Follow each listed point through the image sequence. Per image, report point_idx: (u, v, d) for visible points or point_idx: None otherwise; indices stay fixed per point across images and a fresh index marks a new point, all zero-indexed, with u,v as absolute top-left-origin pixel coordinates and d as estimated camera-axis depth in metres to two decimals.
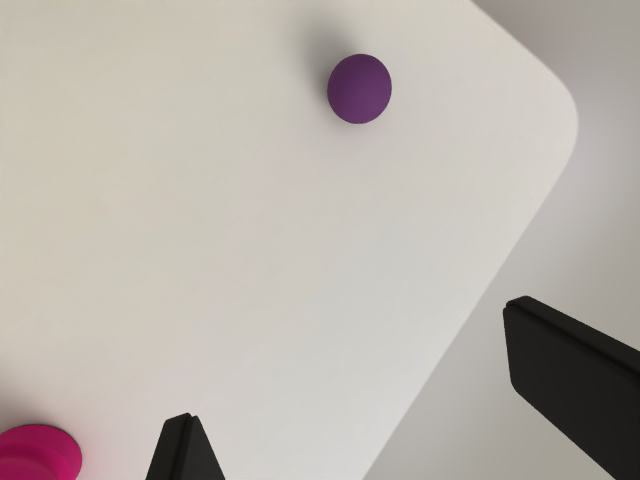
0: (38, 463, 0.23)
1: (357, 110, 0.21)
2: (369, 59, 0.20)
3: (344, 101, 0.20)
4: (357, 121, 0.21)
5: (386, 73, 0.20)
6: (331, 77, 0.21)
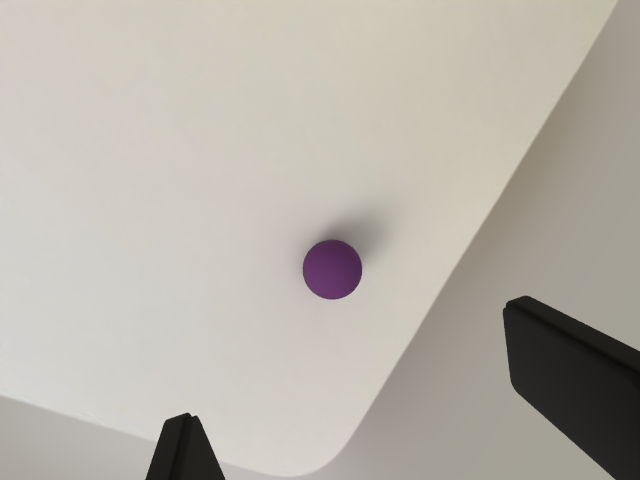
0: None
1: (315, 270, 0.22)
2: (358, 277, 0.22)
3: (322, 257, 0.22)
4: (305, 270, 0.22)
5: (347, 293, 0.22)
6: (342, 243, 0.23)
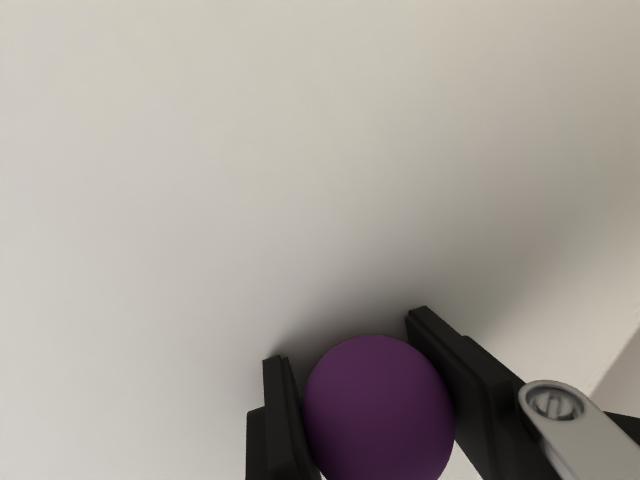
0: None
1: (337, 444, 0.08)
2: (451, 449, 0.08)
3: (358, 408, 0.08)
4: (308, 431, 0.08)
5: None
6: (405, 354, 0.09)
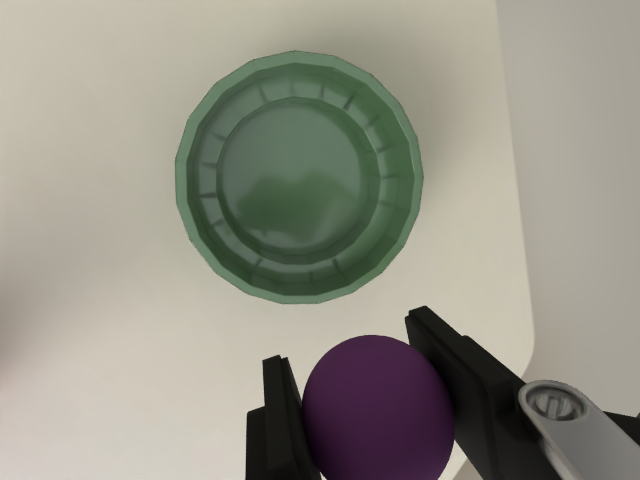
0: None
1: (337, 444, 0.08)
2: (451, 450, 0.08)
3: (358, 408, 0.08)
4: (309, 431, 0.08)
5: None
6: (405, 354, 0.09)
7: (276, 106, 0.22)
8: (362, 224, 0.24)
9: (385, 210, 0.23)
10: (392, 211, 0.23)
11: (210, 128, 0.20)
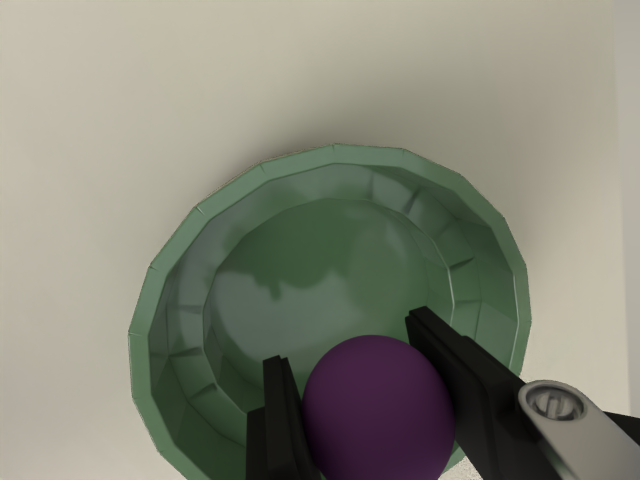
0: None
1: (337, 444, 0.08)
2: None
3: (358, 408, 0.08)
4: (308, 431, 0.08)
5: None
6: (405, 354, 0.09)
7: None
8: None
9: None
10: None
11: (192, 254, 0.12)
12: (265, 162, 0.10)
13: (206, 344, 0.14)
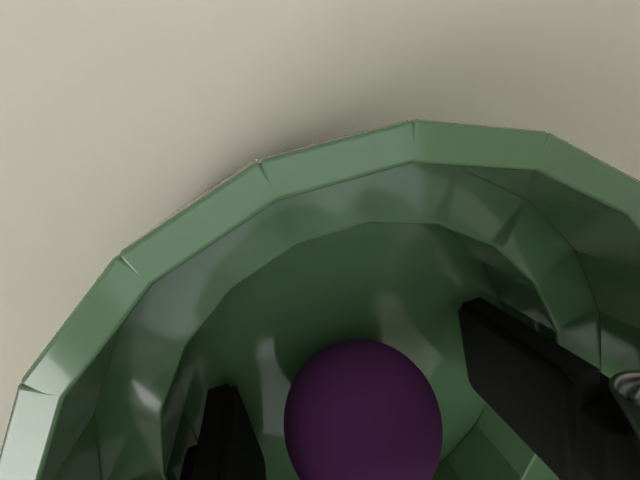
0: None
1: (304, 445, 0.07)
2: (432, 473, 0.08)
3: (327, 412, 0.07)
4: (285, 428, 0.08)
5: None
6: (389, 363, 0.08)
7: None
8: (496, 456, 0.11)
9: None
10: None
11: (138, 322, 0.07)
12: (271, 159, 0.05)
13: (171, 458, 0.08)
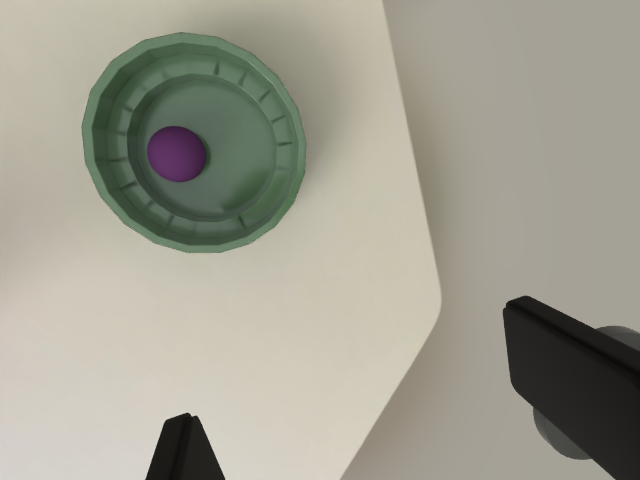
0: None
1: None
2: (168, 161, 0.23)
3: None
4: None
5: (166, 175, 0.24)
6: (171, 128, 0.24)
7: (184, 83, 0.26)
8: (266, 187, 0.28)
9: (283, 174, 0.27)
10: (289, 174, 0.27)
11: (118, 101, 0.23)
12: (145, 40, 0.21)
13: (131, 160, 0.25)
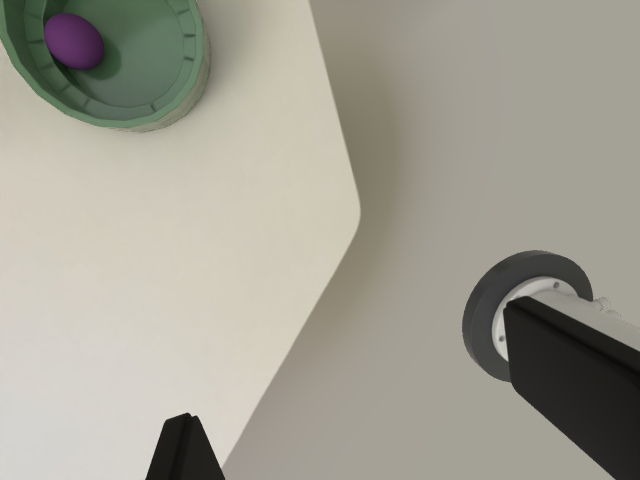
0: None
1: None
2: (48, 43, 0.26)
3: None
4: None
5: (58, 60, 0.27)
6: (57, 14, 0.27)
7: None
8: None
9: (191, 65, 0.30)
10: None
11: None
12: None
13: None
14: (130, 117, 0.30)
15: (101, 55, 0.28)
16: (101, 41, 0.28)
